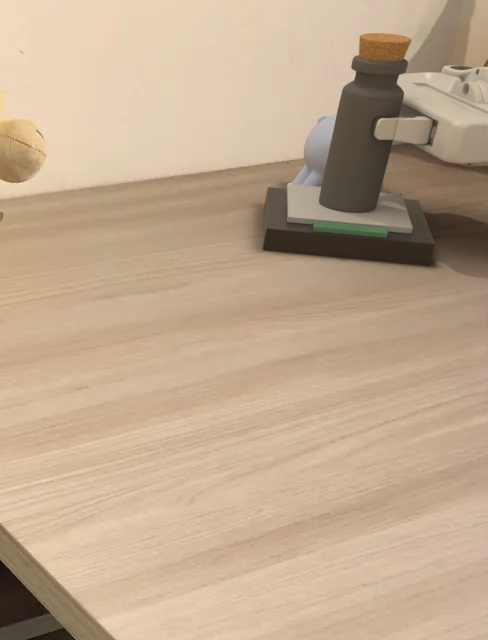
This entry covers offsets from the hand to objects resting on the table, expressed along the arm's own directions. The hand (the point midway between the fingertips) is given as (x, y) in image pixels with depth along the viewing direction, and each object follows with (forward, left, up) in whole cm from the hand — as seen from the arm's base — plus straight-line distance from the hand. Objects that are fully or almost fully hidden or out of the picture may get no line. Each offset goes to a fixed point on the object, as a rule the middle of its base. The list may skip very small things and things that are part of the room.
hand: (358, 118), depth 101 cm
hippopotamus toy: (-1, -15, -11) cm, 19 cm away
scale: (-1, +1, -11) cm, 11 cm away
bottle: (-1, 0, -8) cm, 8 cm away
